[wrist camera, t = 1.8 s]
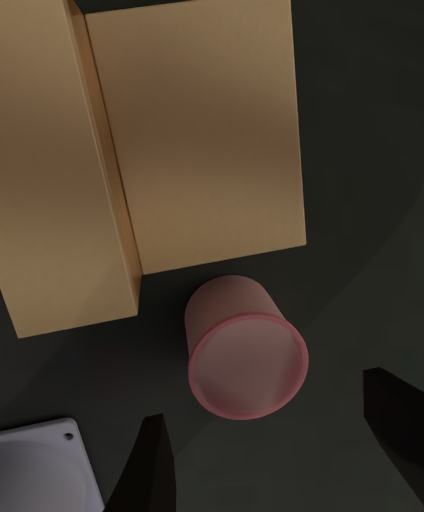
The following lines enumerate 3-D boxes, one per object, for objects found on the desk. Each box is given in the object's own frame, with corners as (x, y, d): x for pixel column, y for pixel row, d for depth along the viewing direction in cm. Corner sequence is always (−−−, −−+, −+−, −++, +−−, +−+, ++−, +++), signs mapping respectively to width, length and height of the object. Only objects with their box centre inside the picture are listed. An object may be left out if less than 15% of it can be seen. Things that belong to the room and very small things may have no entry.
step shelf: (290, 233, 19) (346, 275, 13) (62, 274, 18) (18, 339, 12) (273, 6, 16) (337, -65, 10) (-8, 43, 15) (-112, -13, 9)
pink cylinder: (279, 347, 21) (311, 406, 16) (190, 365, 21) (198, 431, 16) (270, 263, 19) (304, 303, 15) (173, 281, 19) (178, 328, 14)
